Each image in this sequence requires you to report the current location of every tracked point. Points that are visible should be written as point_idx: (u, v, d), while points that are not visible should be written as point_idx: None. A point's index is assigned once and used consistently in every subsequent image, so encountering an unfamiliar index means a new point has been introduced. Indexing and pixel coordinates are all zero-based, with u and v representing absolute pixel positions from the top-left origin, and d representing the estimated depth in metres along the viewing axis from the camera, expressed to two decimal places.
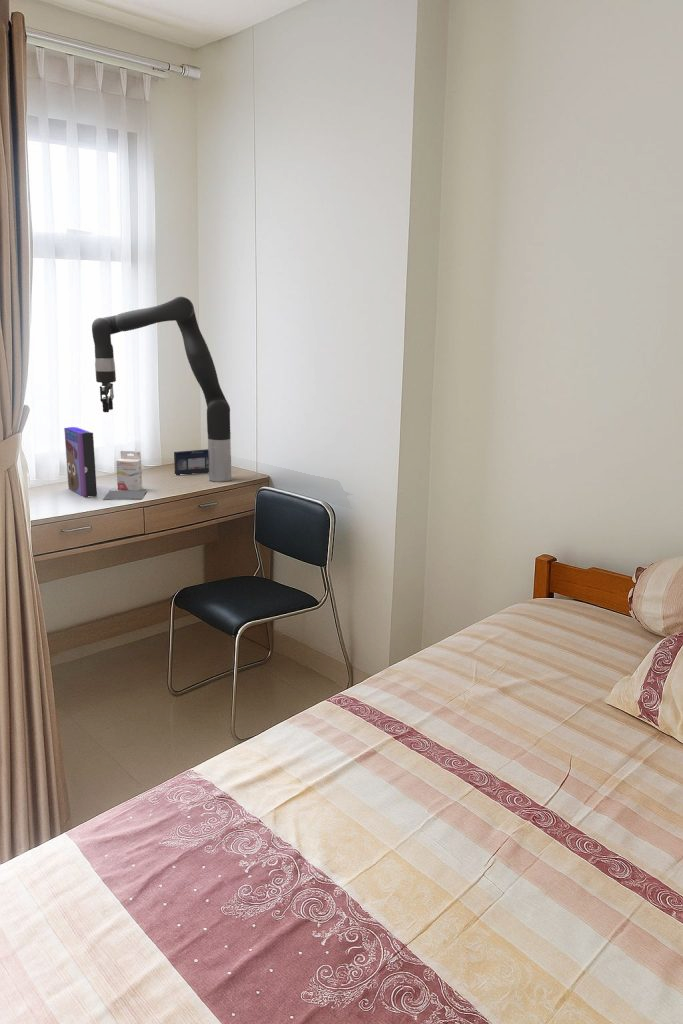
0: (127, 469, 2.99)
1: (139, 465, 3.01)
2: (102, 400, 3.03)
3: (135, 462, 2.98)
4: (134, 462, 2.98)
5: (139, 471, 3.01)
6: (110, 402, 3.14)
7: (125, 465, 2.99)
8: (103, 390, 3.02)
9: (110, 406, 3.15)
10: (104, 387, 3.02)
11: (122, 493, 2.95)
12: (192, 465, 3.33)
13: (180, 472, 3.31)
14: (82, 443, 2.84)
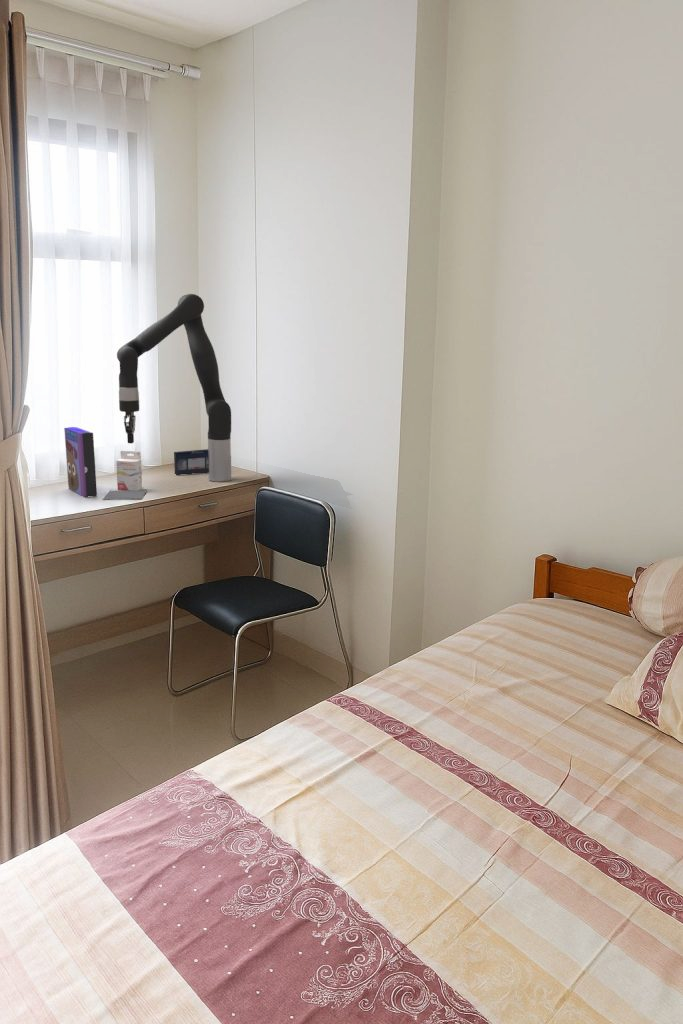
0: (127, 469, 2.99)
1: (139, 465, 3.01)
2: (127, 432, 3.03)
3: (135, 462, 2.98)
4: (134, 462, 2.98)
5: (139, 471, 3.01)
6: None
7: (125, 465, 2.99)
8: (128, 425, 3.00)
9: None
10: (128, 423, 2.99)
11: (122, 493, 2.95)
12: (192, 465, 3.33)
13: (180, 472, 3.31)
14: (82, 443, 2.84)
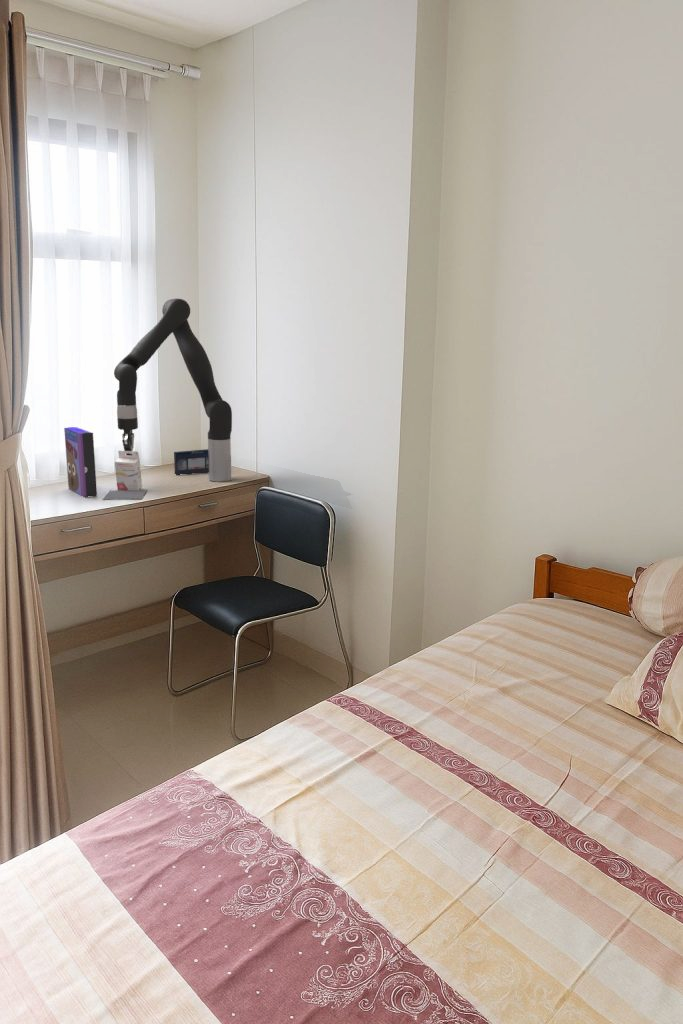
0: (126, 470, 2.98)
1: (138, 465, 2.99)
2: (125, 450, 3.00)
3: (134, 463, 2.97)
4: (133, 463, 2.97)
5: (138, 471, 3.00)
6: None
7: (124, 466, 2.98)
8: (126, 443, 2.97)
9: None
10: (127, 441, 2.96)
11: (122, 493, 2.95)
12: (192, 465, 3.33)
13: (180, 472, 3.31)
14: (82, 443, 2.84)
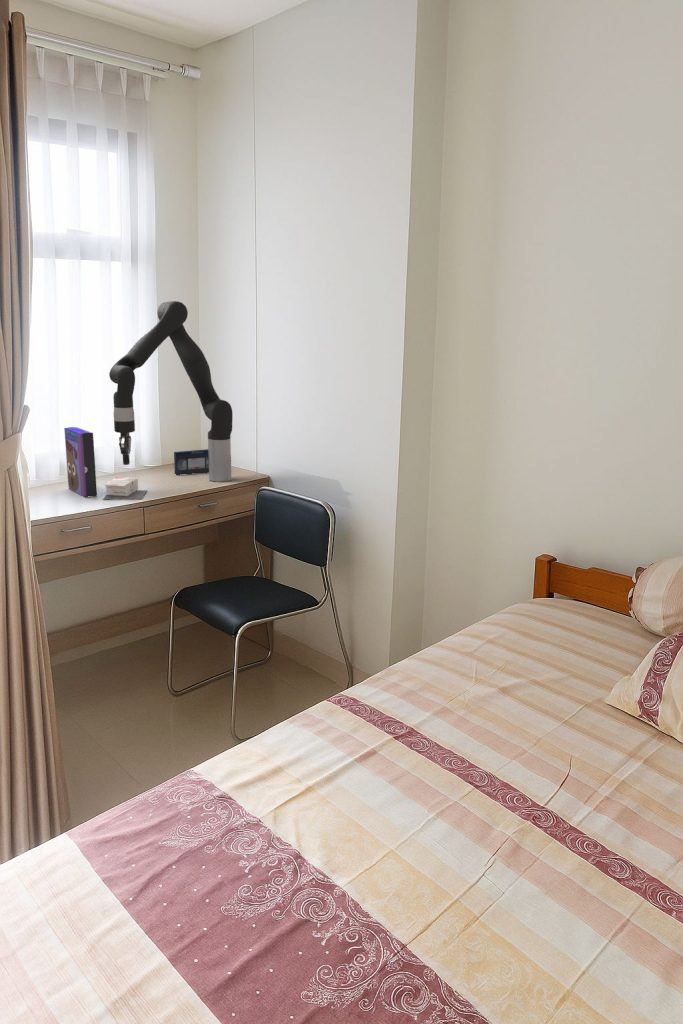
0: None
1: (129, 489, 2.91)
2: (122, 453, 2.93)
3: (126, 495, 2.90)
4: (125, 495, 2.90)
5: (131, 488, 2.94)
6: None
7: None
8: (123, 447, 2.90)
9: None
10: (124, 444, 2.89)
11: None
12: (192, 465, 3.33)
13: (180, 472, 3.31)
14: (82, 443, 2.84)
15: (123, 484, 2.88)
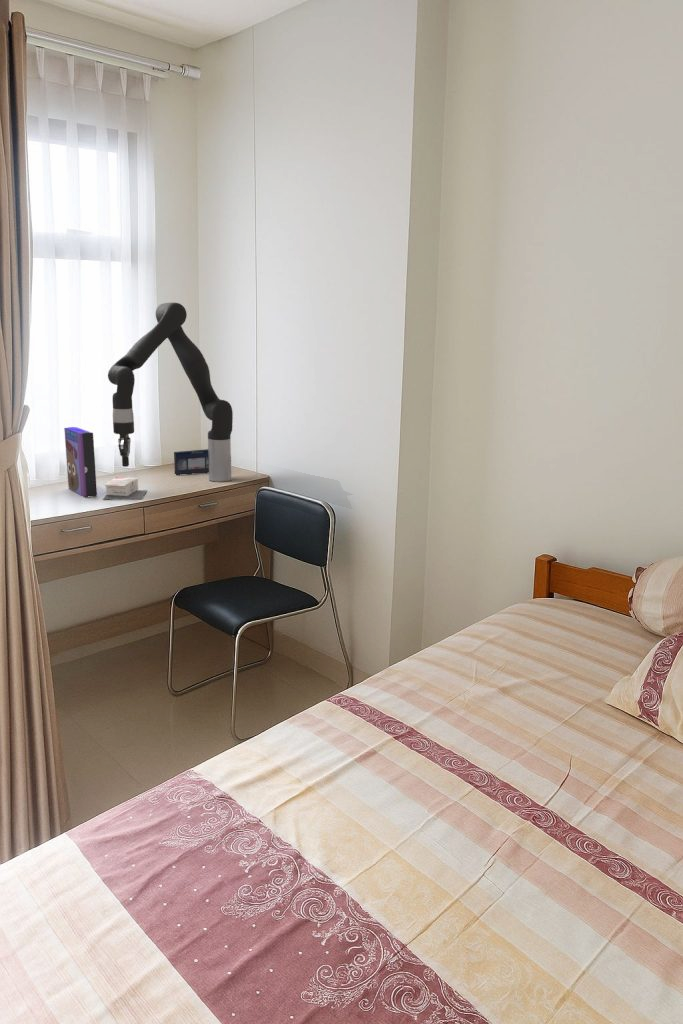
0: None
1: (129, 489, 2.91)
2: (121, 455, 2.90)
3: (126, 495, 2.90)
4: (125, 495, 2.90)
5: (131, 488, 2.94)
6: None
7: None
8: (122, 448, 2.87)
9: None
10: (123, 446, 2.87)
11: None
12: (192, 465, 3.33)
13: (180, 472, 3.31)
14: (82, 443, 2.84)
15: (123, 484, 2.88)
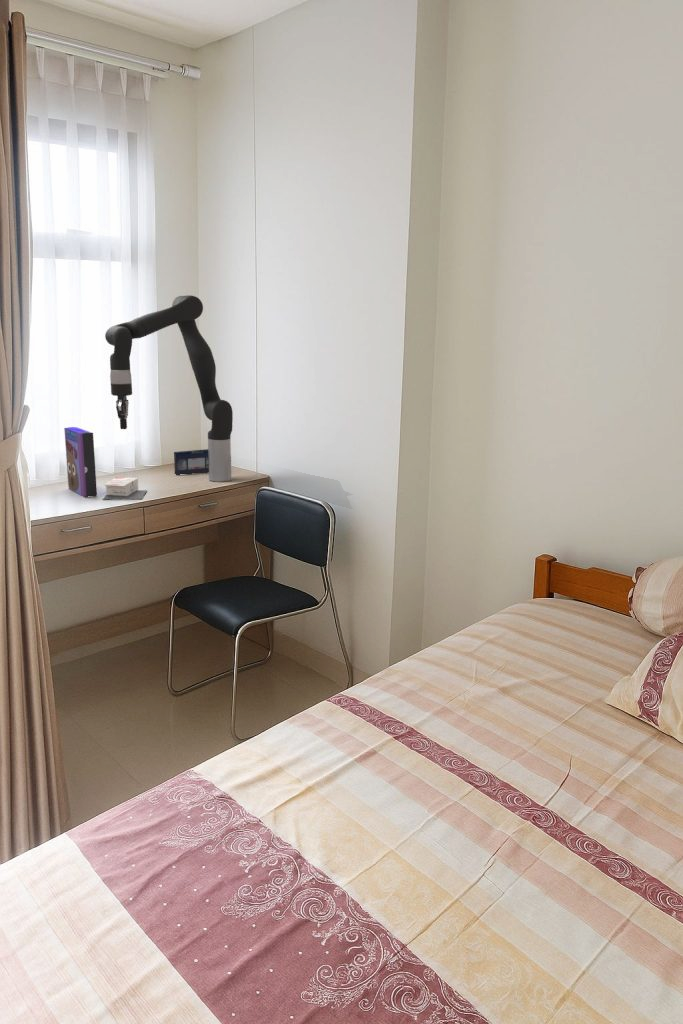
0: None
1: (129, 489, 2.91)
2: (119, 417, 2.87)
3: (126, 495, 2.90)
4: (125, 495, 2.90)
5: (131, 488, 2.94)
6: None
7: None
8: (120, 410, 2.84)
9: None
10: (121, 407, 2.83)
11: None
12: (192, 465, 3.33)
13: (180, 472, 3.31)
14: (82, 443, 2.84)
15: (123, 484, 2.88)
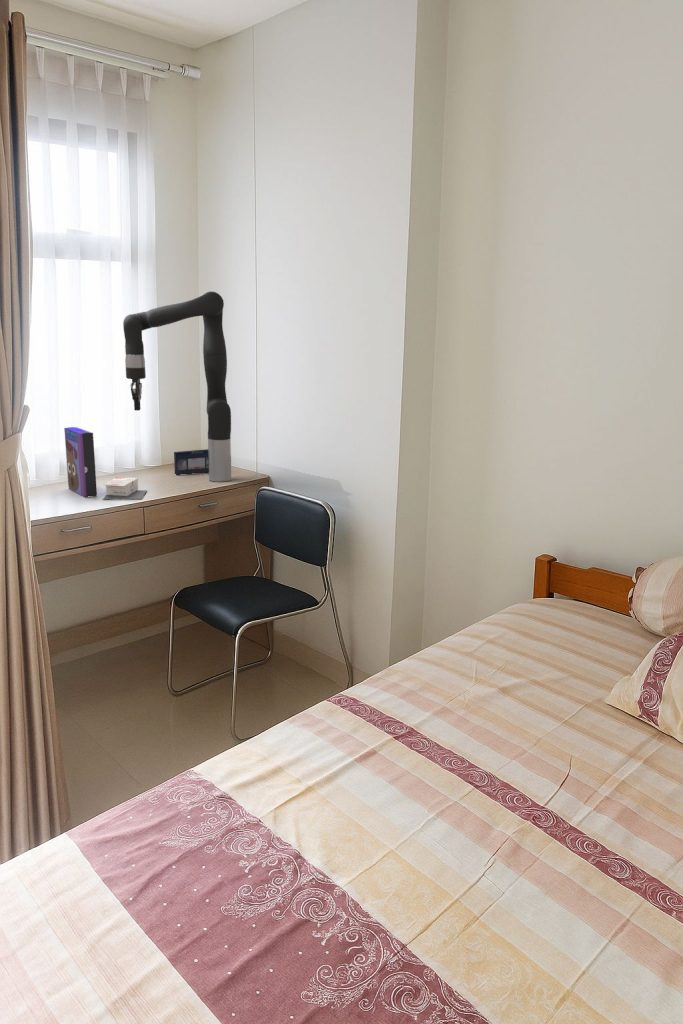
0: None
1: (129, 489, 2.91)
2: (133, 399, 3.07)
3: (126, 495, 2.90)
4: (125, 495, 2.90)
5: (131, 488, 2.94)
6: None
7: None
8: (134, 392, 3.04)
9: None
10: (135, 390, 3.03)
11: None
12: (192, 465, 3.33)
13: (180, 472, 3.31)
14: (82, 443, 2.84)
15: (123, 484, 2.88)
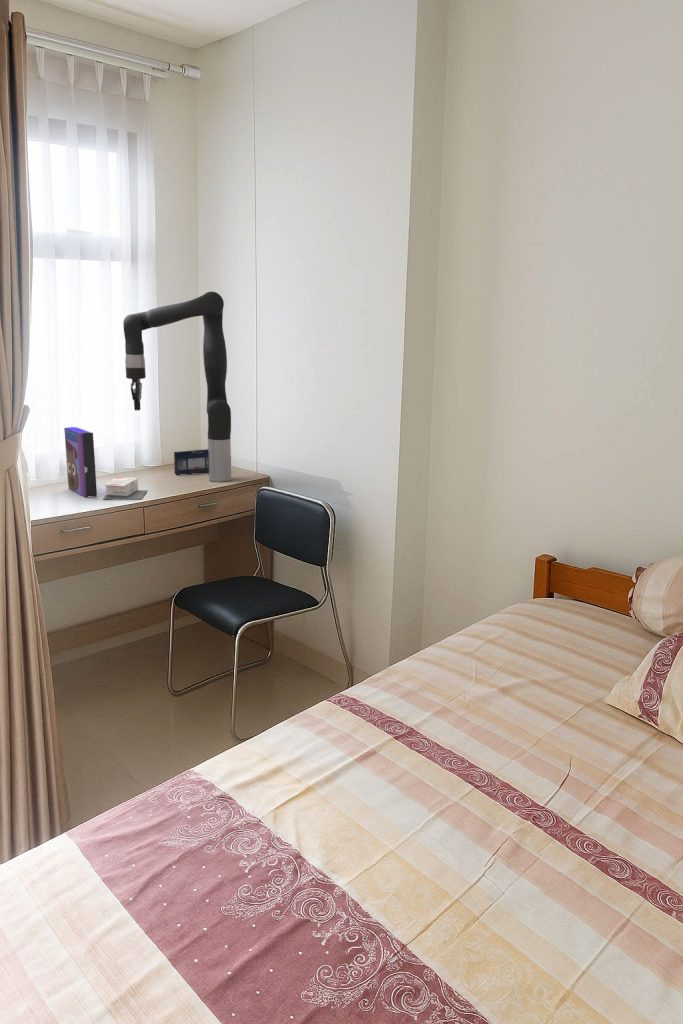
0: None
1: (129, 489, 2.91)
2: (133, 399, 3.07)
3: (126, 495, 2.90)
4: (125, 495, 2.90)
5: (131, 488, 2.94)
6: None
7: None
8: (134, 392, 3.04)
9: None
10: (135, 390, 3.03)
11: None
12: (192, 465, 3.33)
13: (180, 472, 3.31)
14: (82, 443, 2.84)
15: (123, 484, 2.88)
